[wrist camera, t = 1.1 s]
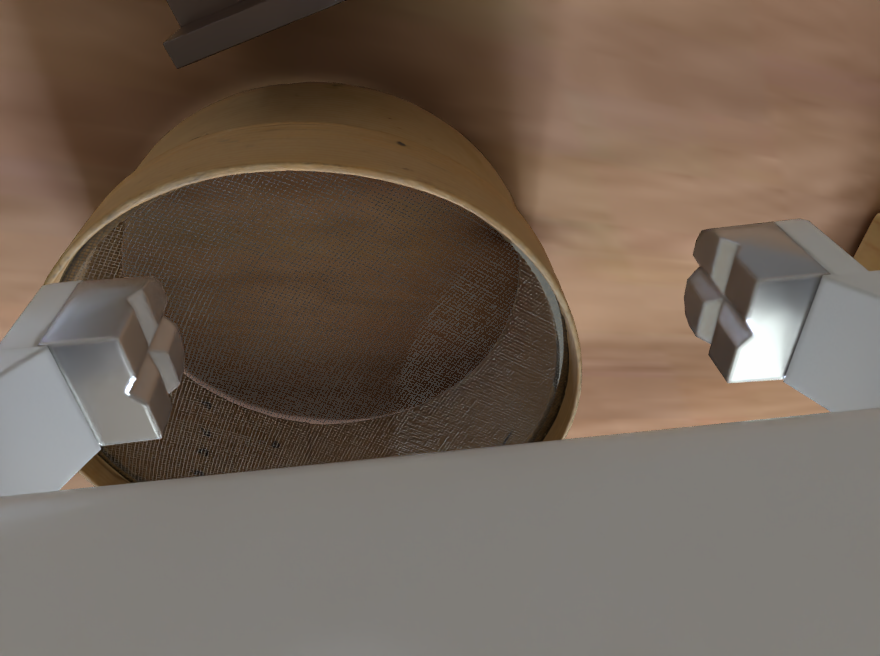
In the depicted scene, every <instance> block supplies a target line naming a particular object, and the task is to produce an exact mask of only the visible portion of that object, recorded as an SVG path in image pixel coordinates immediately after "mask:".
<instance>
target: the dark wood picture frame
mask: <svg viewBox="0 0 880 656" xmlns="http://www.w3.org/2000/svg"><path fill="white" fill-rule="evenodd" d="M166 1H167V3H168V5H169V6H170V8H171V10H172V12H173V14H174V16H175V17H176V19H177V21H178V23H179V25H180V26H181V27H180V28H179V29H178V30H177V31H176V32H175V33H174V34H173V35H172V36H171V37H169V38H168V39H167V40H166V41H165V42H164V43H163V45H164V47H165V49H166V50H167V52H168V54H169V56H170V57H171V59H172V61H173V63H174V64H175V66H176V68H177V69H179V68H182V67H184V66H187V65H189V64H192V63H194V62H196V61H199V60H201V59H204V58H206V57H209V56H211V55H214V54H216V53H219V52H221V51H223V50H226V49H228V48H231V47H233V46H236V45H238V44H241V43H243V42H246V41H248V40H250V39H253V38H255V37H258V36H260V35H263V34H265V33H268V32H270V31H273V30H275V29H277V28H280V27H282V26H285V25H287V24H290V23H292V22H295V21H297V20H300V19H302V18H304V17H307V16H309V15H312V14H314V13H317V12H319V11H322V10H324V9H326V8H329V7H331V6H334V5H336V4H339V3H341V2H344V1H346V0H166Z"/></svg>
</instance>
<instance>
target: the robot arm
mask: <svg viewBox="0 0 880 656" xmlns="http://www.w3.org/2000/svg"><path fill="white" fill-rule="evenodd" d="M693 256H694V258H695V259H696V261H697V263H698V264H699V266H700V267H699V268H698V269H697V270H696V271H695V272H694V273H693V274H692V275H691V276H690V277H689V278H688V279H687V284H686V289H685V295H684V304H685V315H686V318H687V321H688V324H689V326H690V328H691V329H692V331H693V333H694V334H695V336H696V337H698V338H700V339H702V340H704V341H706V342H708V343H710V344H711V346H710V350H709V354H708V355H709V356H710V358H711V359H712V361H713V362H714V364H715V365H716V367H717V368H718V370H719V371H720V373H721V374H722V375H723V377H724V378H725V380H726V381H727V383H737V382H751V381H765V380H779V379H784V381H783V382H785V383H786V384H788V385H790V386H791V387H793V388H794V389H796V390H797V391H799V392H801V393H802V394H804V395H805V396H807V397H808V398H810V399H812V400H813V401H815V402H816V403H818V404H819V405H821V406H823V407H824V408H826V409H827V410H829V411H830V413H820V414H810V415H800V416H790V417H780V418H771V419H761V420H751V421H741V422H731V423H721V424H712V425H702V426H692V427H682V428H672V429H662V430H652V431H643V432H633V433H623V434H613V435H603V436H593V437H584V438H574V439H564V440H554V441H544V442H534V443H524V444H514V445H504V446H495V447H485V448H475V449H465V450H455V451H445V452H435V453H425V454H415V455H406V456H396V457H386V458H376V459H366V460H356V461H346V462H336V463H326V464H317V465H307V466H297V467H287V468H277V469H267V470H257V471H247V472H237V473H227V474H218V475H208V476H198V477H188V478H178V479H168V480H158V481H148V482H138V483H129V484H119V485H109V486H99V487H89V488H79V489H69V490H60V489H61V488H62V487H63V486H64V485H65V484H66V483H67V482H68V481H69V480H70V479H71V478H72V477H73V476H74V475H75V474H76V473H77V472H78V471H79V470H80V469H81V468H82V467H83V466H84V465H85V464H86V463H87V462H88V461H89V460H90V459H91V458H92V457H93V456H95V455H96V454H97V453H98V452H99V451H100V450H101V447H100V446H107V445H115V444H123V443H131V442H139V441H147V440H155V439H162V436H163V433H164V430H165V427H166V424H167V421H168V418H169V416H170V413H171V410H172V407H173V405H172V403H171V400H170V398H169V395H168V394H169V393H171V392H172V391H173V390H174V389H176V388H177V387H178V386H179V385H180V383H181V380H182V377H183V373H184V358H185V353H184V347H183V342H182V337H181V334H180V332H179V329H178V326H177V325H176V324H175V323H174V322H172V321H171V320H170V319H168V318H167V317H166V316H164V315H163V313H164V311H165V308H166V306H167V303H168V298H167V296H166V293H165V291H164V288H163V286H162V283H161V282H160V281H159V280H158V279H157V278H156V277H154V276H146V277H131V278H116V279H101V280H86V281H81V280H79V281H70V282H61V283H51V284H47V285H43V286H42V287H41V288H40V290H39V291H38V292H37V294H36V295H35V296H34V298H33V299H32V300H31V302H30V303H29V304H28V306H27V307H26V308H25V310H24V311H23V313H22V314H21V315H20V317H19V318H18V319H17V321H16V322H15V323H14V325H13V326H12V327H11V329H10V330H9V331H8V333H7V334H6V336H5V337H4V338H3V340H2V341H1V342H0V656H880V270H877V271H868V270H867V269H866V268H865V267H863V266H862V265H861V264H860V263H859V262H857V261H856V260H855V259H854V258H853V257H851V256H850V255H849V254H848V253H847V252H845V251H844V250H843V249H842V248H841V247H839V246H838V245H837V244H836V243H835V242H833V241H832V240H831V239H830V238H829V237H828V236H826V235H825V234H824V233H823V232H822V231H820V230H819V229H818V228H817V227H816V226H814V225H813V224H812V223H811V222H810V221H808V220H803V219H791V220H784V221H776V222H766V223H757V224H748V225H739V226H730V227H721V228H712V229H706V230H702V231H701V233H700V234H699V236H698V238H697V240H696V244H695V248H694V252H693Z"/></svg>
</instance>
